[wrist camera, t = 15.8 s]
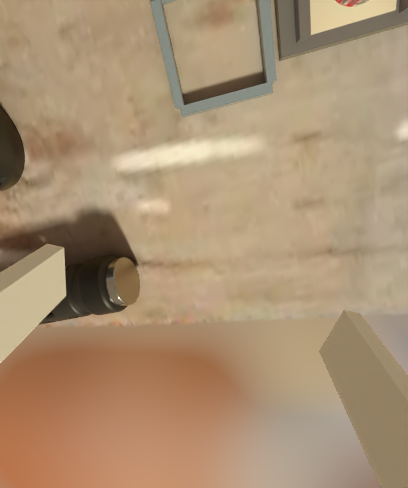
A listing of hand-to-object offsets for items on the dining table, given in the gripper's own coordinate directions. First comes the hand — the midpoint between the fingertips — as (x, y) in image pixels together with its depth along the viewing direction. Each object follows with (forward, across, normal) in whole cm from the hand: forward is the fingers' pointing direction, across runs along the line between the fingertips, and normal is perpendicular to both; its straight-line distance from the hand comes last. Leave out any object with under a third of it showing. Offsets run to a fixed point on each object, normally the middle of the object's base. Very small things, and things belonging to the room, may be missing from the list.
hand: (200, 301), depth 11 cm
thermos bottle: (+29, -23, -24) cm, 44 cm away
